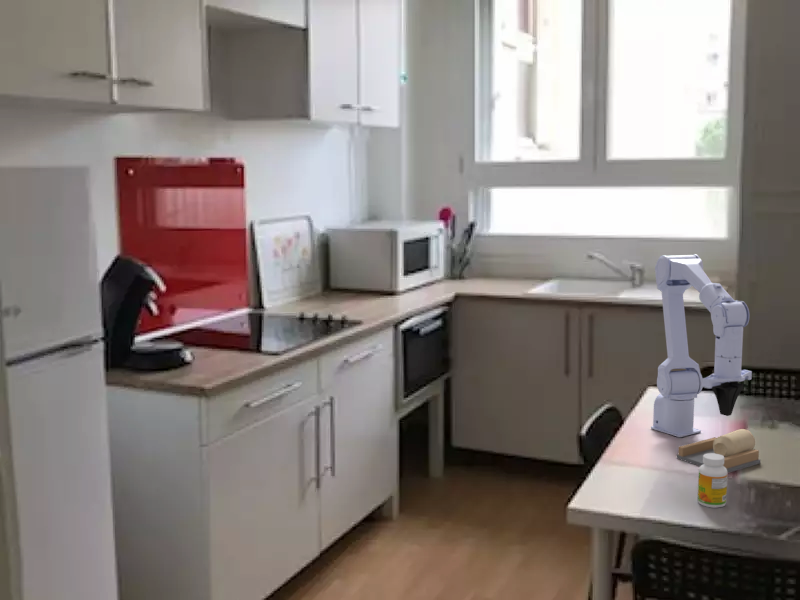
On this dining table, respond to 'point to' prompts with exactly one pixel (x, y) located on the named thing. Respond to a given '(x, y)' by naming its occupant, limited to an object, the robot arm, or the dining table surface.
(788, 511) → the dining table surface
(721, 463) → the supplement bottle
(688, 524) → the dining table surface
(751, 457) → the tray
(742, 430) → the candle
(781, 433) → the dining table surface
